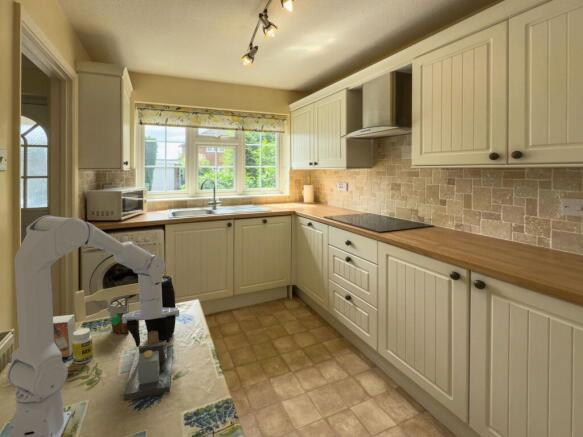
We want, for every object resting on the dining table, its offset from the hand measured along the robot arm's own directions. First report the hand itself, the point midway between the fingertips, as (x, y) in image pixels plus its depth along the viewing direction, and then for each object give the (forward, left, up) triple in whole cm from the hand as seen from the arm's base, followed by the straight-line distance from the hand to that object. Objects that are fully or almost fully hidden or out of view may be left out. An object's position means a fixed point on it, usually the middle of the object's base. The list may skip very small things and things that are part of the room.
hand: (153, 343), depth 91 cm
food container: (+23, +13, -5) cm, 27 cm away
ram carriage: (-2, 0, -4) cm, 4 cm away
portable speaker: (+14, -1, -5) cm, 15 cm away
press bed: (-6, 0, -5) cm, 8 cm away
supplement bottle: (+6, +19, -5) cm, 21 cm away
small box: (+12, +27, -5) cm, 30 cm away
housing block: (-11, 0, -4) cm, 11 cm away
